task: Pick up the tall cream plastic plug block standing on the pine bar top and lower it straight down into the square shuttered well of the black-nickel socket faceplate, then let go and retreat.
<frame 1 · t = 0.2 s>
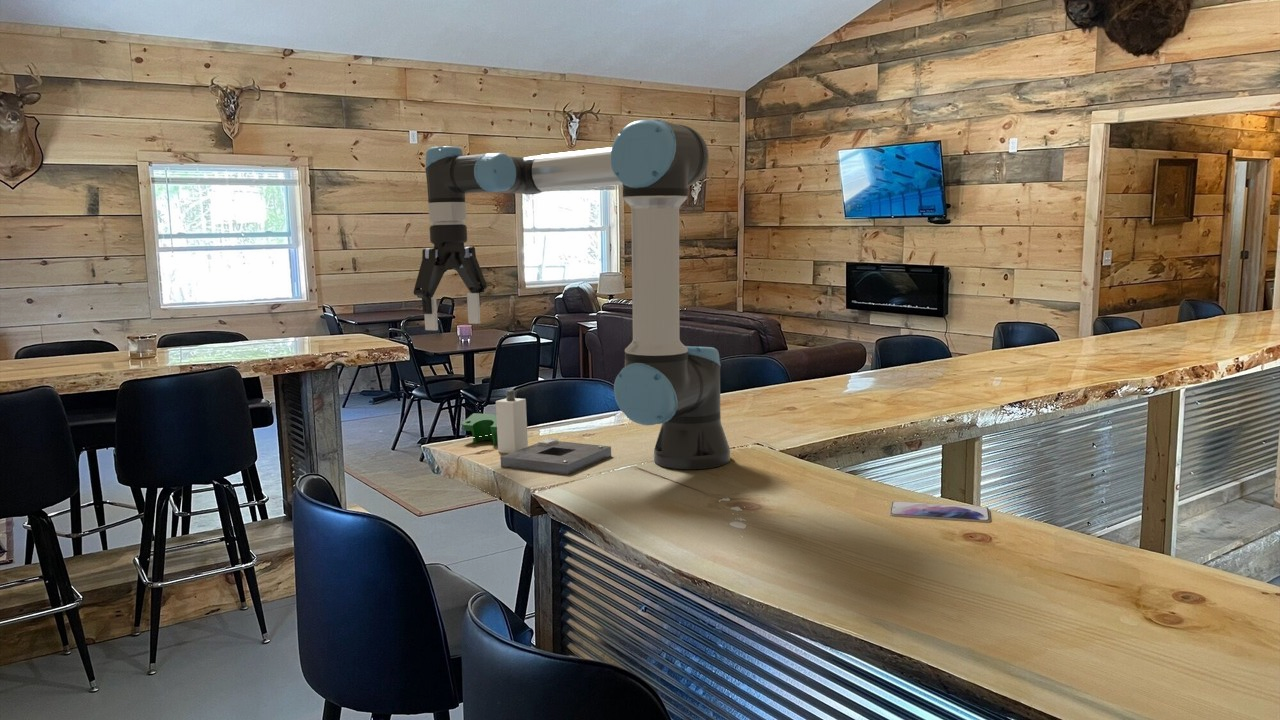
hand: (453, 326, 193), 27 cm above the bar counter, fingers open, 13 cm apart
clamp: (490, 443, 206), on the bar counter
smartphone: (939, 516, 147), on the bar counter
plug: (513, 450, 197), on the bar counter
socket: (556, 461, 187), on the bar counter
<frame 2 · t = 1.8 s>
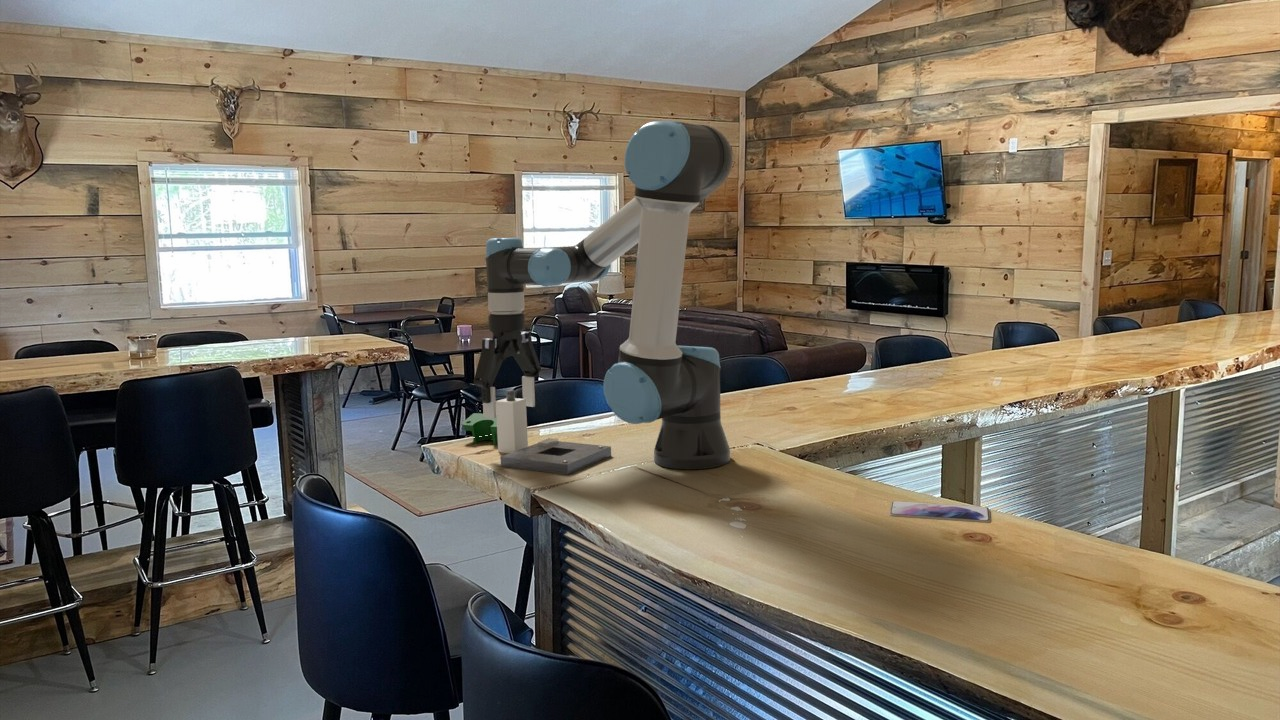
hand: (509, 412, 196), 8 cm above the bar counter, fingers open, 13 cm apart
nothing on the bar counter moved.
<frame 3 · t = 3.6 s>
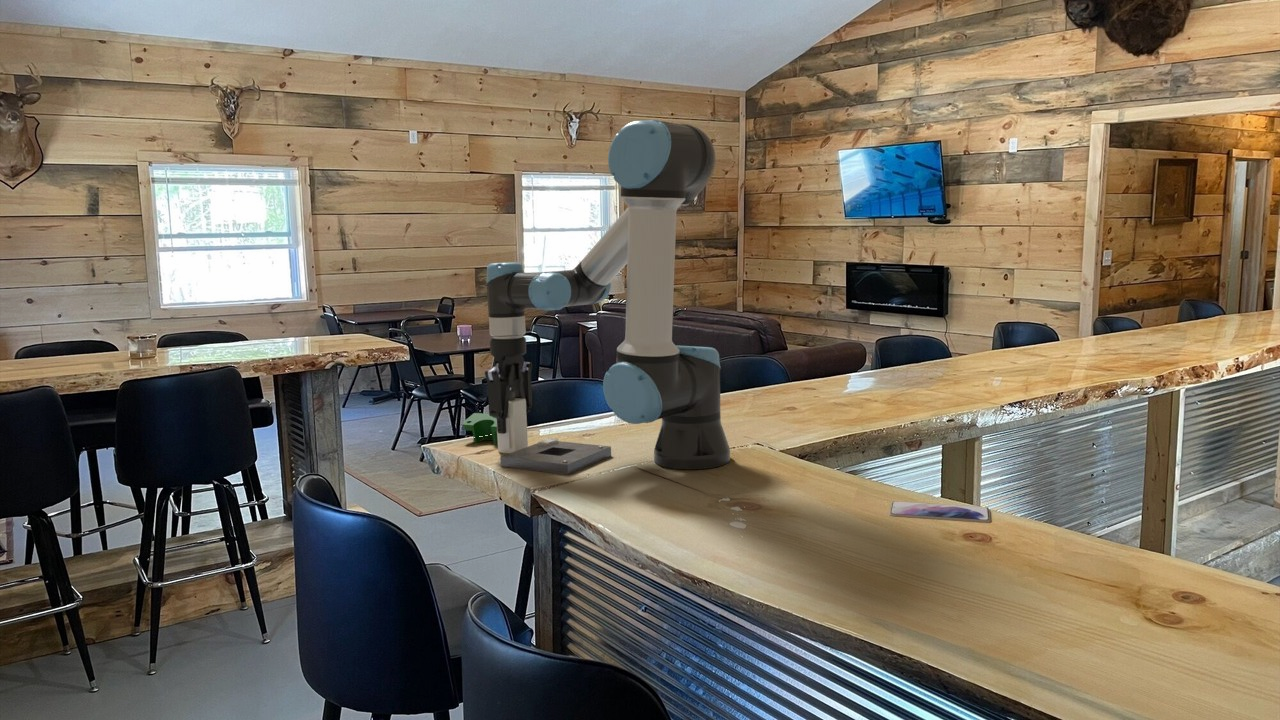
hand: (512, 445, 197), 1 cm above the bar counter, fingers closed on plug, 4 cm apart
plug: (513, 450, 197), on the bar counter, touching gripper
everything else where it was.
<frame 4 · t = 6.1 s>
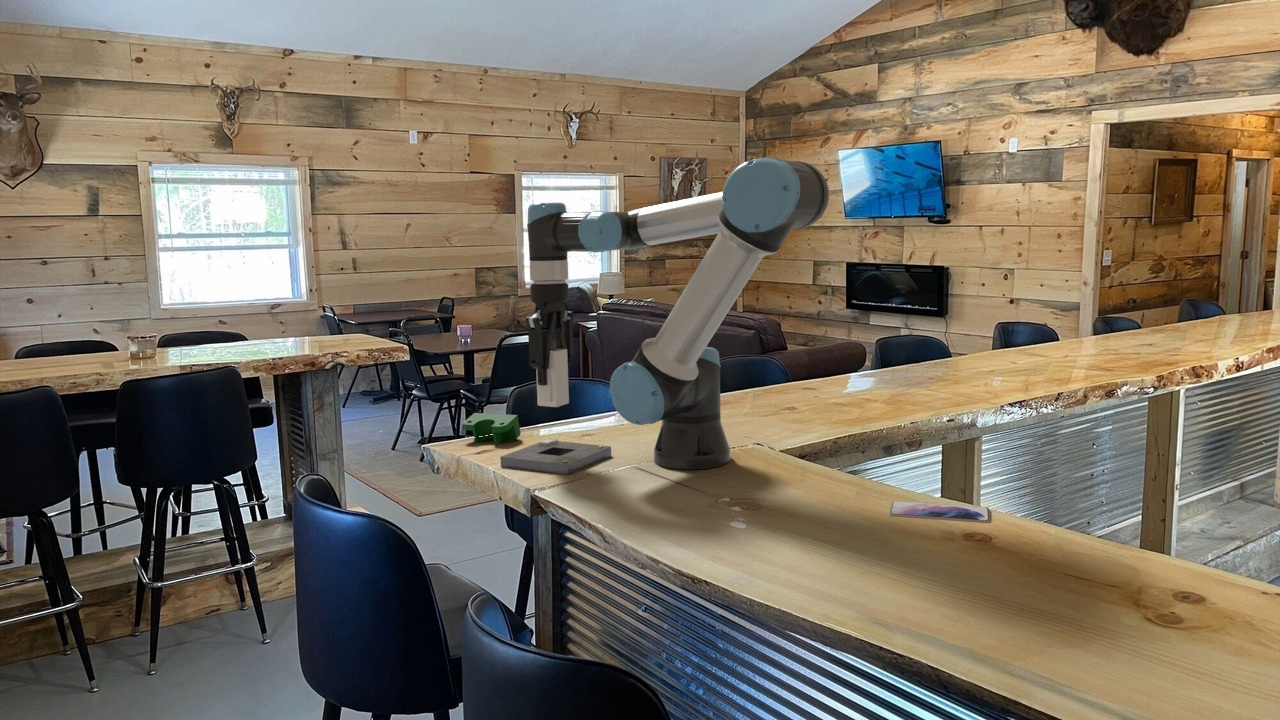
hand: (553, 398, 185), 13 cm above the bar counter, fingers closed on plug, 4 cm apart
plug: (553, 404, 185), point 12 cm above the bar counter, touching gripper
everything else where it was.
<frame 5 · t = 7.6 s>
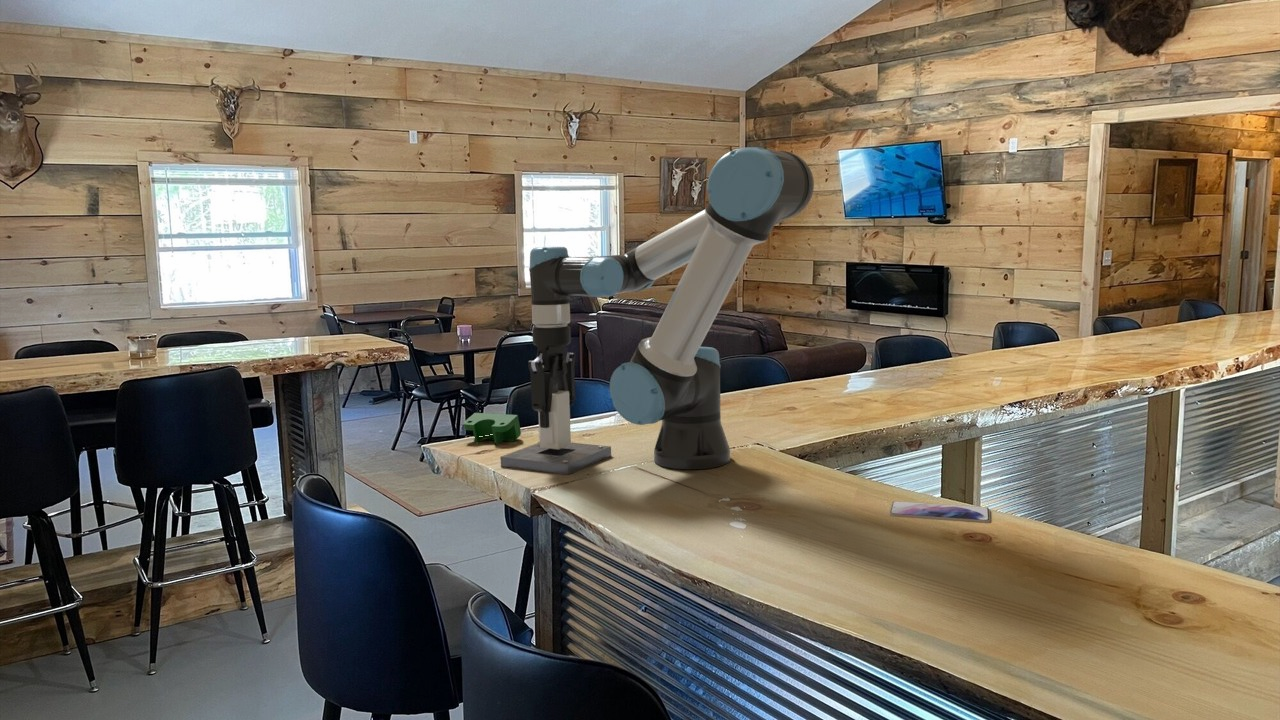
hand: (555, 440, 186), 4 cm above the bar counter, fingers closed on plug, 4 cm apart
plug: (555, 445, 187), point 3 cm above the bar counter, touching gripper
everything else where it was.
when the fingers open (3 cm above the bar counter, at t = 8.8 s): plug drops 1 cm, resting on socket.
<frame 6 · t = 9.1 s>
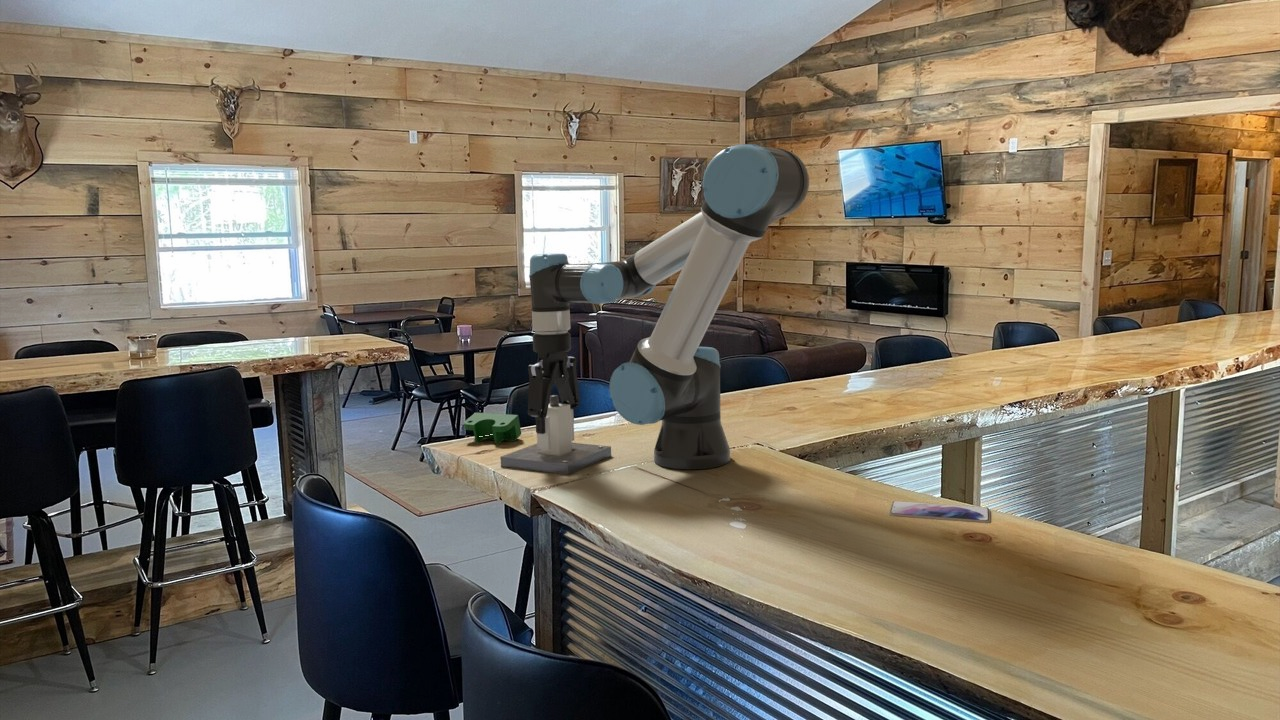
hand: (556, 444, 186), 3 cm above the bar counter, fingers open, 8 cm apart
plug: (556, 459, 187), resting on socket
everything else where it was.
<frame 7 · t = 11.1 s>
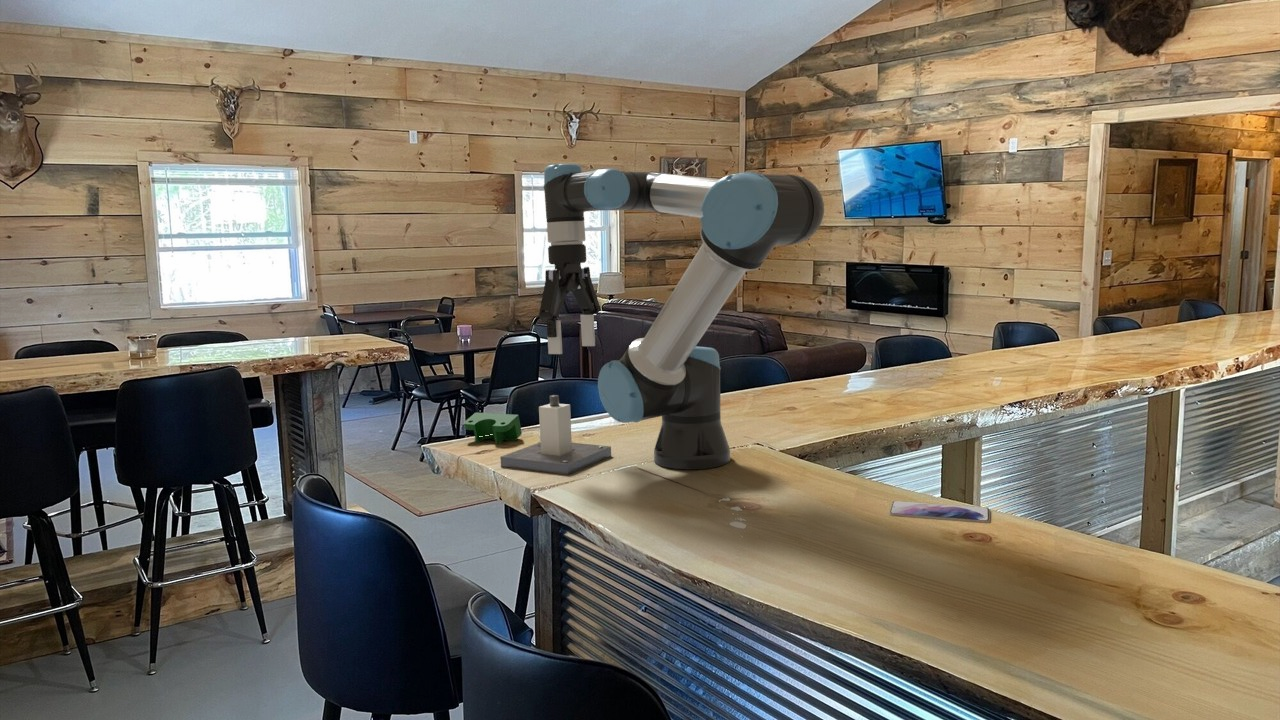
hand: (572, 350, 186), 22 cm above the bar counter, fingers open, 13 cm apart
nothing on the bar counter moved.
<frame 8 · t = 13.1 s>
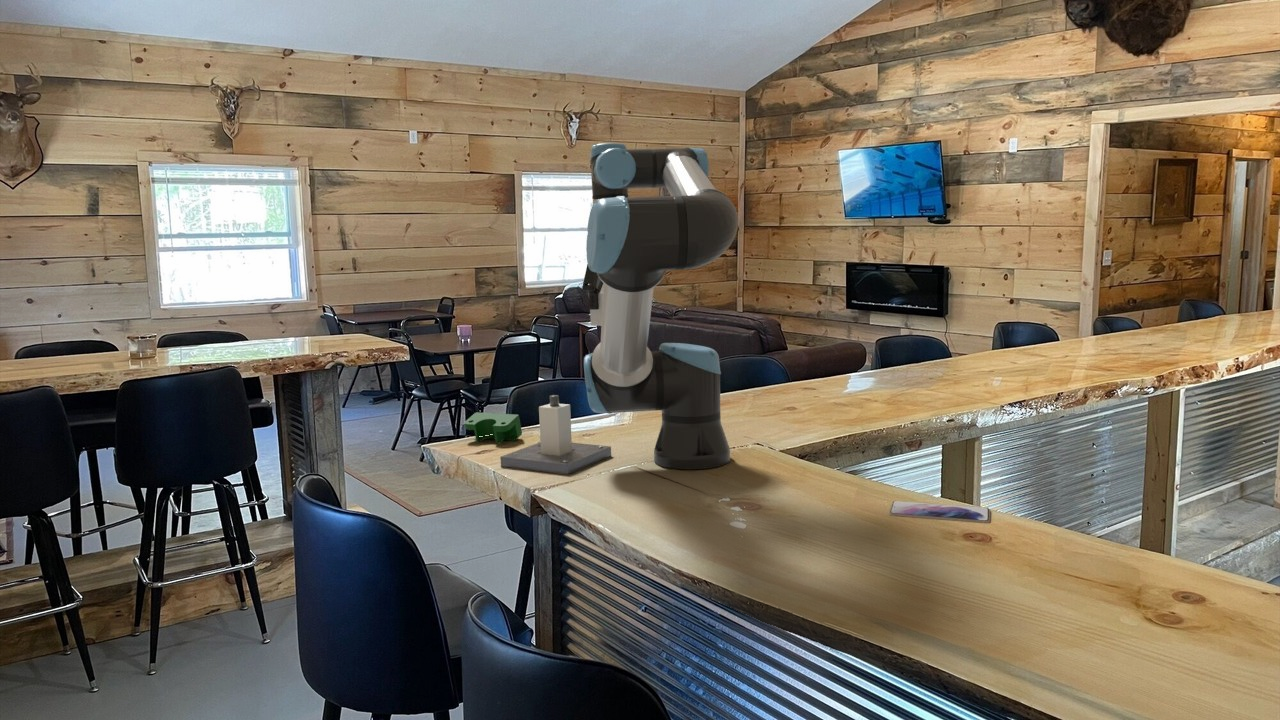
hand: (614, 322, 195), 27 cm above the bar counter, fingers open, 13 cm apart
at the end: plug 0.0 cm off-centre on the socket, point 0.4 cm above the socket's base; plug tilted 0°; the gripper is holding nothing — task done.
